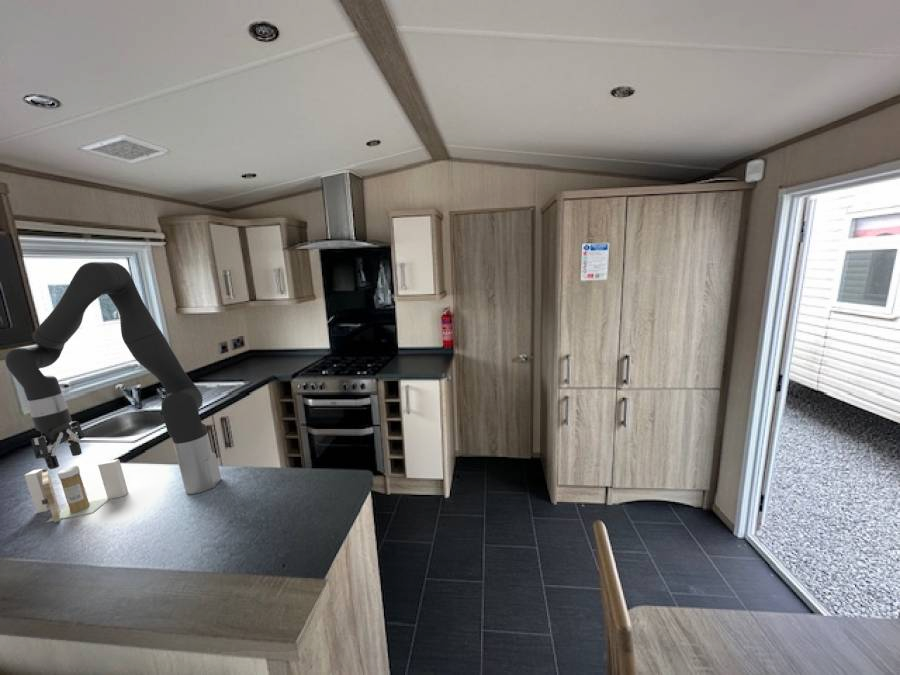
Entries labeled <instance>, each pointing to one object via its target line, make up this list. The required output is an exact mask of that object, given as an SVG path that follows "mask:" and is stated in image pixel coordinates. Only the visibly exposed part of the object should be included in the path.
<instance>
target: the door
mask: <svg viewBox="0 0 900 675" xmlns="http://www.w3.org/2000/svg"><path fill="white" fill-rule="evenodd" d="M43 469H44V470H42V471H43V473H42V481H43V488H44V491H45V494H46V497H47V499H44V500H41V501H42V504H43V505H44V504H47V503H48V504H49V507H50V510H49V511H50V512H51V516H52V517H53V519H54V521H53V522H54V523H56V522H60V521H61V519H60V513H59V512H60V505H59V502H58V499H57V496H56V493H55V488H54V486H53V483H52V480H51V477H50V473H49V471H48V469H47V468H43Z"/></svg>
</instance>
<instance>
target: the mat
mask: <svg viewBox="0 0 900 675" xmlns="http://www.w3.org/2000/svg"><path fill="white" fill-rule="evenodd" d="M111 499H112V498H107V497H106V498H102V499H97V500H90V501H88V502H89V503H90V505H89V506H88V507H87V508H86V509H84V510H82V511H79V512H75V513H71V512H70V508H69V505H67V506H65V507H64V508H62V510H59V513H60V520H64V519H70V518H74V517H80V516H85V515H91V514H94V513H95V512H97V510H99V509H100V508H101V507H102V506H103V505H105V504H106V503H107V502H108V501H110V500H111ZM49 522H54V519H53V516H52V517H50V518H49V519H47V520H46V523H49Z"/></svg>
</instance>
